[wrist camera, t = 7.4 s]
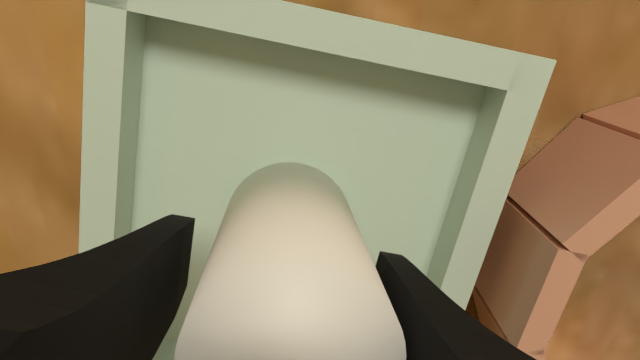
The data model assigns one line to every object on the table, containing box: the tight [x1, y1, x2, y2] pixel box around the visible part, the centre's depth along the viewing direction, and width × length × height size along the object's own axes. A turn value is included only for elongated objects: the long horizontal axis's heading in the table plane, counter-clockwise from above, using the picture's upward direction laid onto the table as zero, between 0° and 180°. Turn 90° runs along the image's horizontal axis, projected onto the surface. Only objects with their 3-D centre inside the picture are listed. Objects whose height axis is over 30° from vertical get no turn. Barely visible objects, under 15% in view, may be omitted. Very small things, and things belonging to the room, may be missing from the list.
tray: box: [79, 0, 557, 360], centre depth 14 cm, size 12×13×2 cm
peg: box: [174, 162, 406, 360], centre depth 11 cm, size 4×4×7 cm
